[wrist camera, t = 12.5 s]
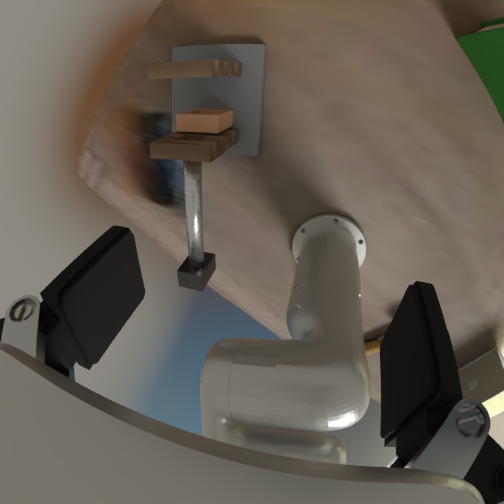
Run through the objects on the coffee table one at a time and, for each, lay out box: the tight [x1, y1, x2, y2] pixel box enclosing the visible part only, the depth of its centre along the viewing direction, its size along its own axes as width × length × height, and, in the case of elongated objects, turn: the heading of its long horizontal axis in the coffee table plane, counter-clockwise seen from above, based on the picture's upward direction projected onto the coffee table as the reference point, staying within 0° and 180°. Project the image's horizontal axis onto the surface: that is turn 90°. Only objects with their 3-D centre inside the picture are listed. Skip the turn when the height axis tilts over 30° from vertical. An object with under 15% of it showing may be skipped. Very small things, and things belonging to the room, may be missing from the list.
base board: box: [172, 44, 267, 157], centre depth 39 cm, size 17×14×2 cm
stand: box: [148, 59, 242, 163], centre depth 35 cm, size 12×8×11 cm, turn 177°
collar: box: [176, 109, 233, 133], centre depth 38 cm, size 2×6×6 cm, turn 87°
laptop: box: [458, 347, 504, 403], centre depth 52 cm, size 18×12×13 cm
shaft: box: [177, 160, 216, 291], centre depth 42 cm, size 20×4×6 cm, turn 177°
